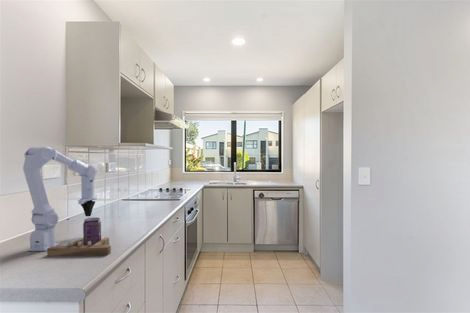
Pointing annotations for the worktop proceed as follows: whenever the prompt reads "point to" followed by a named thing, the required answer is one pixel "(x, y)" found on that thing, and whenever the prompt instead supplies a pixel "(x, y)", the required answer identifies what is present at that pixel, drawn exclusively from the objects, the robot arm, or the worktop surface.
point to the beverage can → (91, 231)
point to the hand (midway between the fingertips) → (88, 216)
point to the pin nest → (81, 248)
